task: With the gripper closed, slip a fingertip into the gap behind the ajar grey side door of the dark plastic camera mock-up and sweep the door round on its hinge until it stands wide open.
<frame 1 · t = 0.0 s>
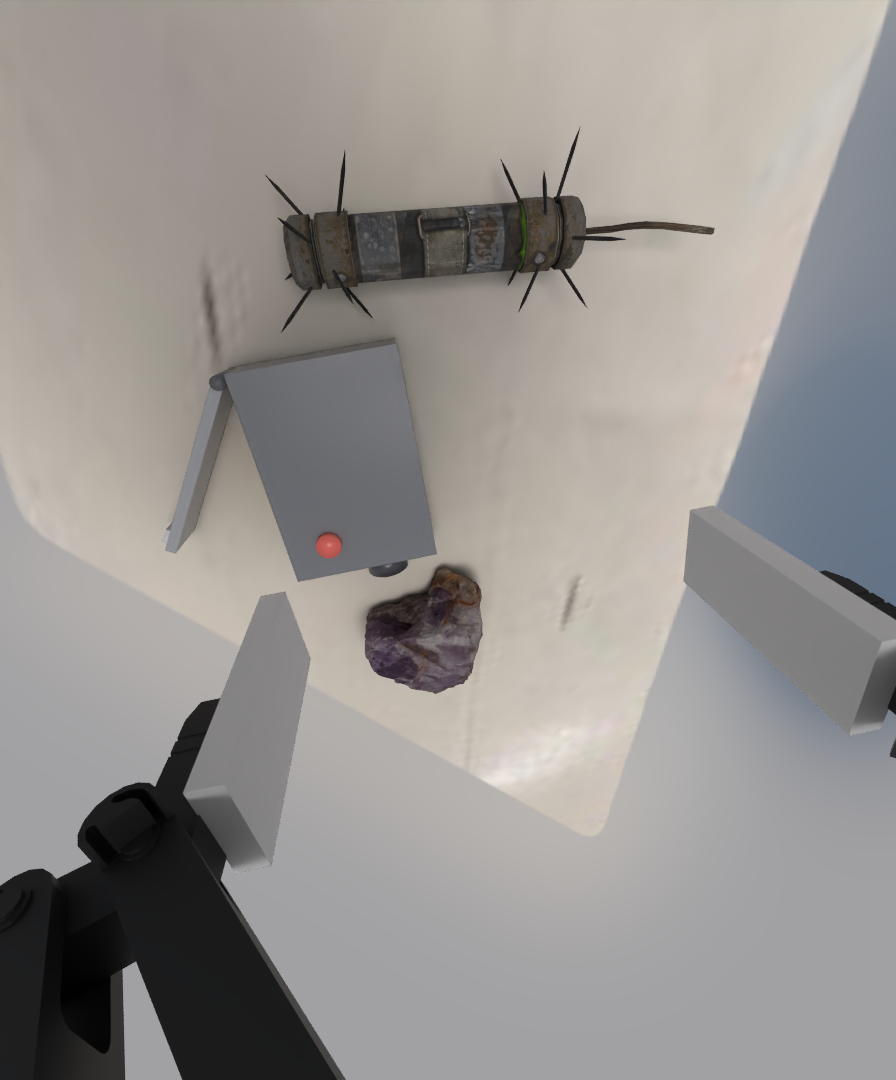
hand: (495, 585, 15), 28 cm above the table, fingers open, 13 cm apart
side door: (199, 461, 37), point 3 cm above the table, hinge at 35.0°
rock: (427, 611, 50), on the table
camera body: (346, 455, 41), on the table
bomb: (484, 241, 36), on the table
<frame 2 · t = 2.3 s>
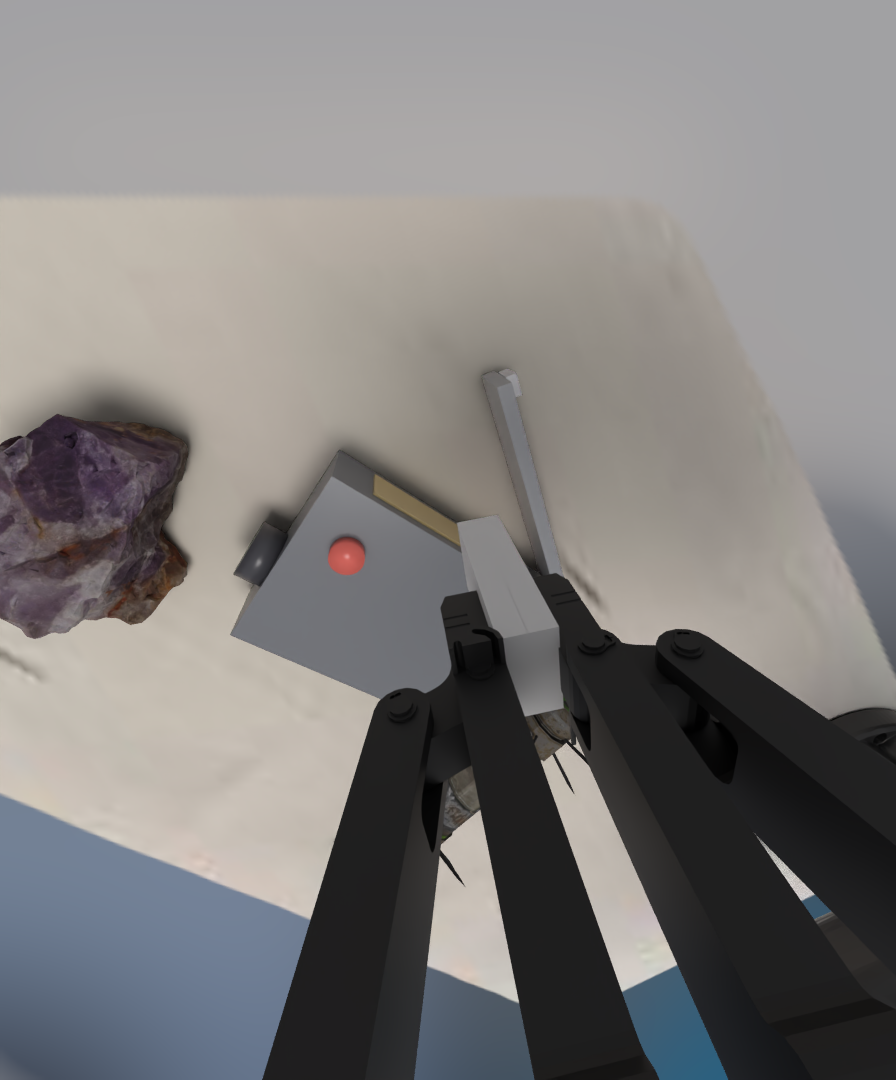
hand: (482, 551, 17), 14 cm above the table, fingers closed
side door: (531, 493, 30), point 3 cm above the table, hinge at 35.0°
rock: (120, 496, 29), on the table
camera body: (400, 582, 34), on the table
bomb: (440, 755, 43), on the table
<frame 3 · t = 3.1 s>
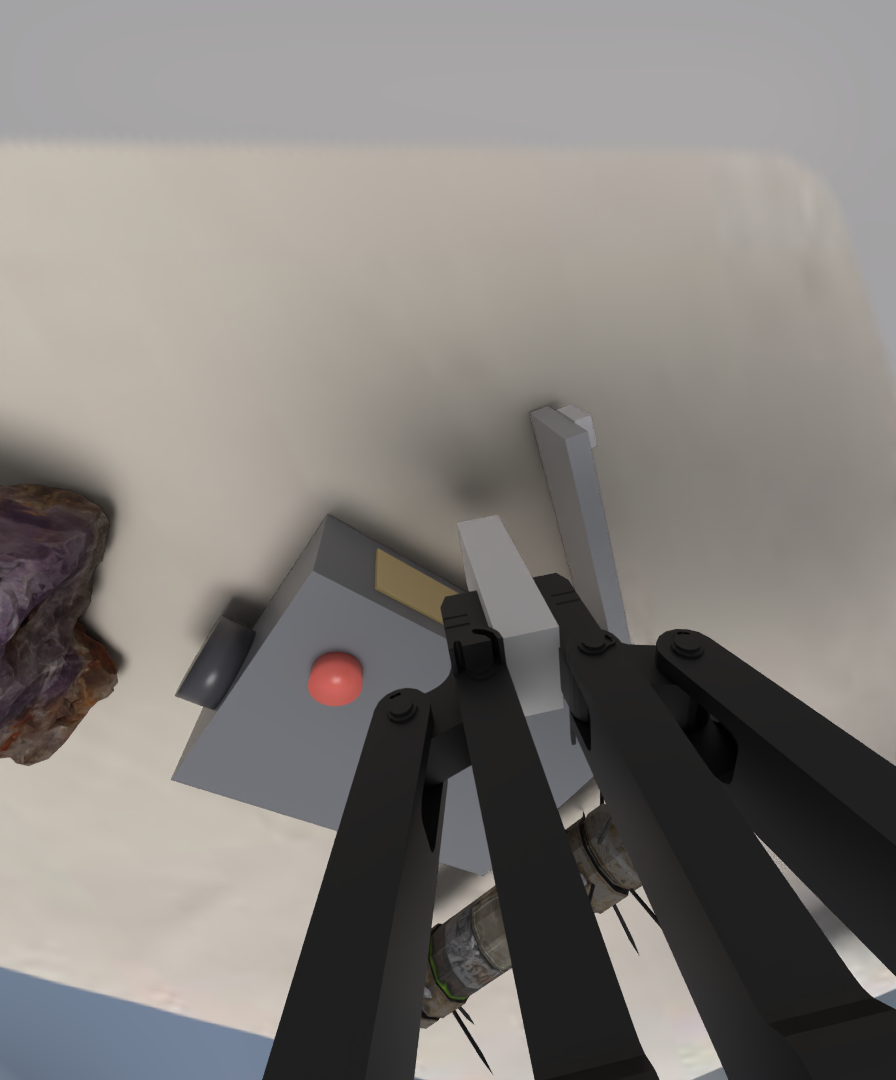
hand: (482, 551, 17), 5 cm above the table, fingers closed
side door: (597, 575, 21), point 3 cm above the table, hinge at 35.0°
rock: (20, 578, 21), on the table
camera body: (411, 678, 26), on the table
bomb: (457, 869, 35), on the table
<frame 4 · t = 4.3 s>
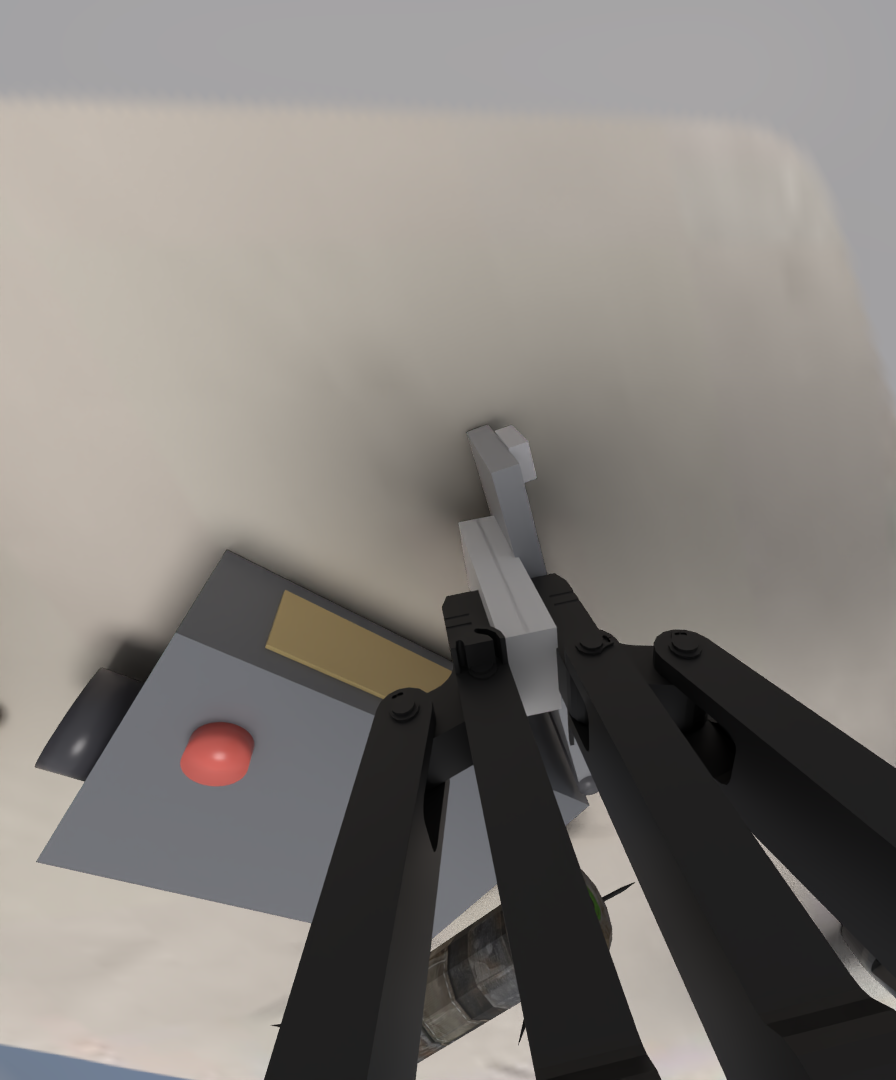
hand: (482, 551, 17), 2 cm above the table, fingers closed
side door: (545, 622, 18), point 2 cm above the table, hinge at 36.0°, touching gripper
camera body: (341, 727, 23), on the table
bomb: (406, 917, 32), on the table
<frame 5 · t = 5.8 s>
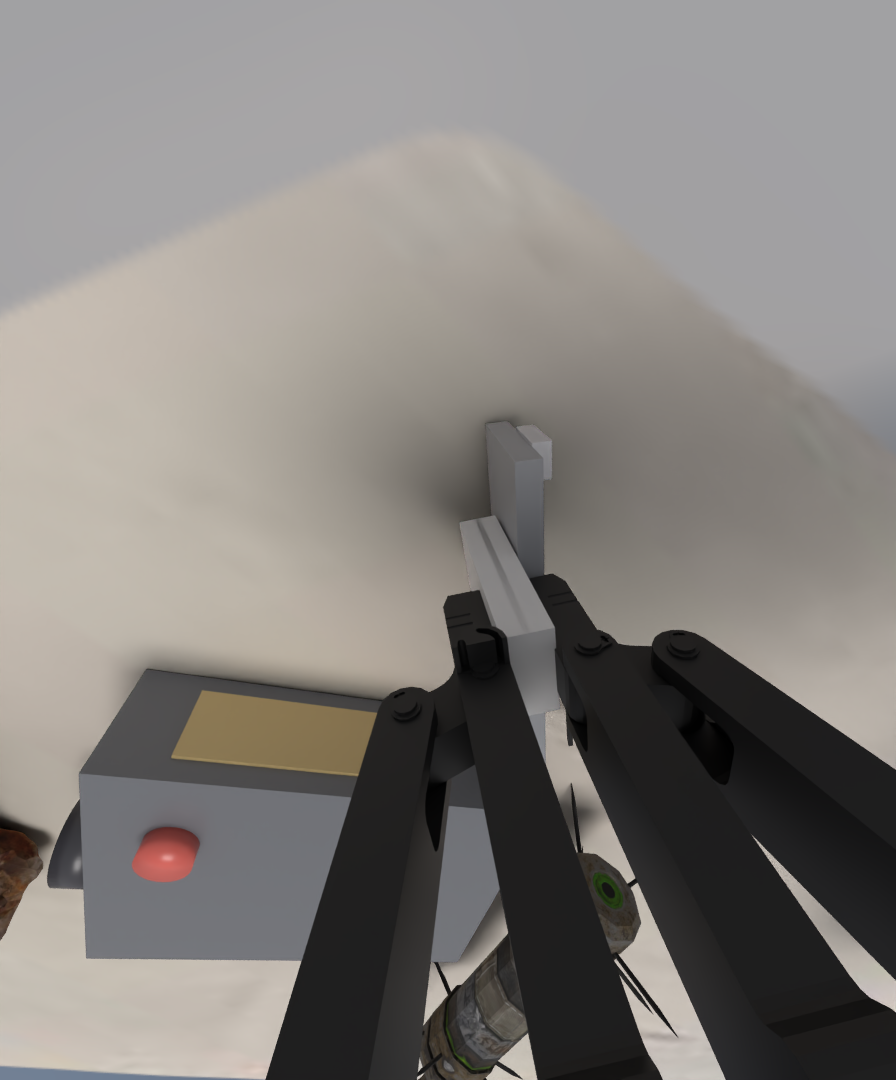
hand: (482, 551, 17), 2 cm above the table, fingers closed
side door: (524, 626, 18), point 2 cm above the table, hinge at 67.5°, touching gripper
camera body: (323, 781, 25), on the table
bomb: (473, 920, 33), on the table
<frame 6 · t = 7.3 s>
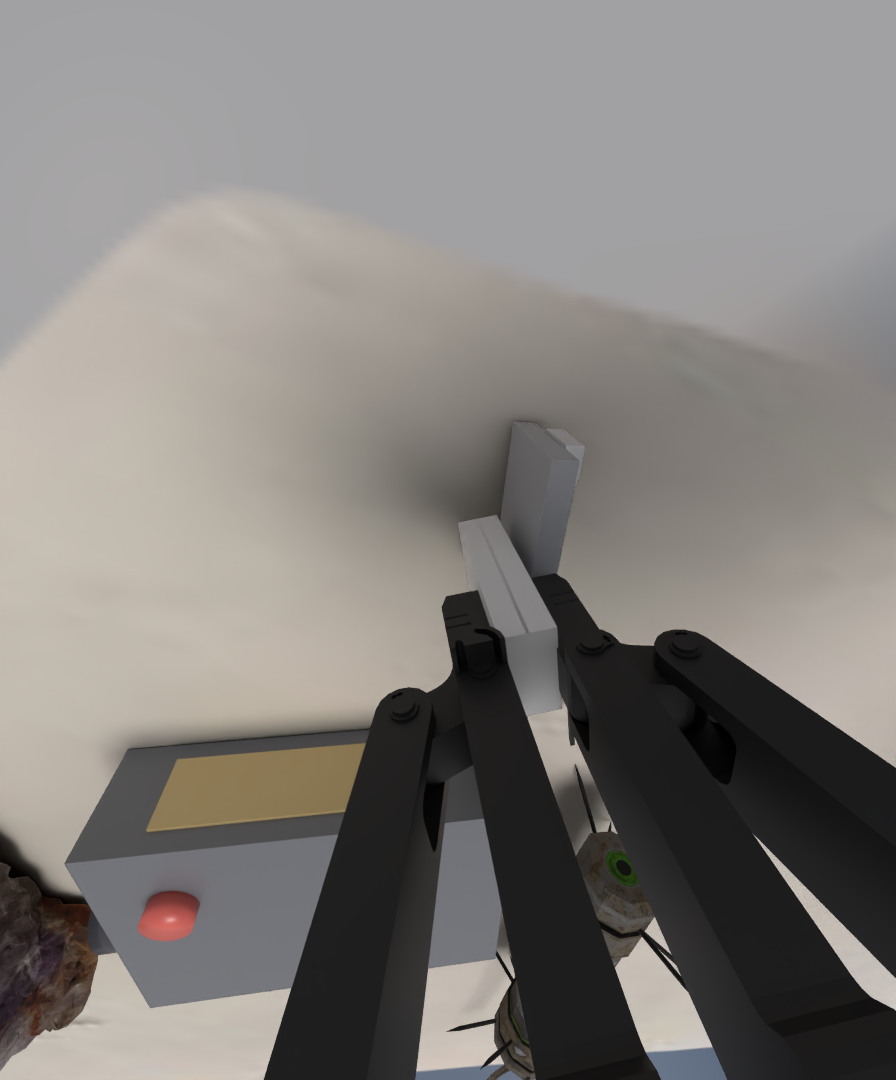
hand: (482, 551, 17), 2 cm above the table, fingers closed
side door: (518, 627, 18), point 2 cm above the table, hinge at 93.0°, touching gripper
camera body: (328, 812, 26), on the table
bomb: (527, 906, 33), on the table
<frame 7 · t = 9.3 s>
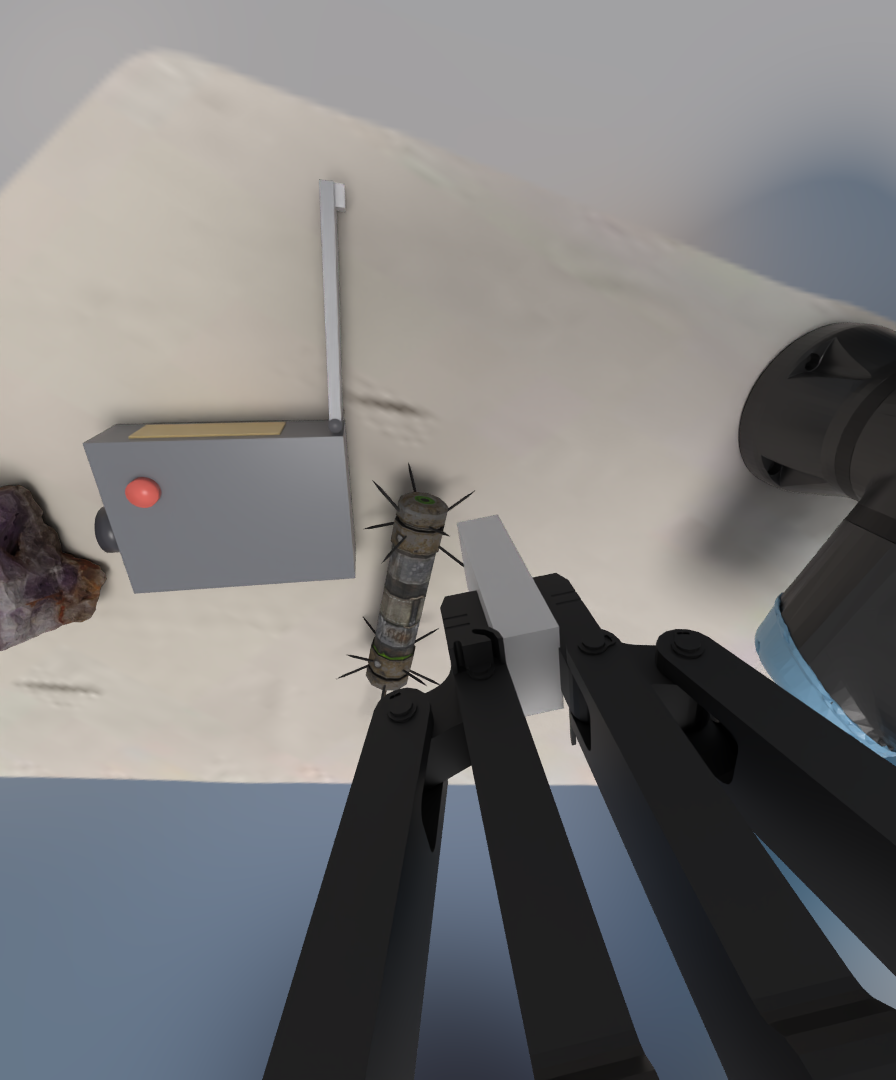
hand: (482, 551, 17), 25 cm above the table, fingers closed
side door: (336, 317, 33), point 2 cm above the table, hinge at 93.1°
rock: (30, 546, 40), on the table
camera body: (247, 493, 40), on the table
bomb: (395, 604, 48), on the table
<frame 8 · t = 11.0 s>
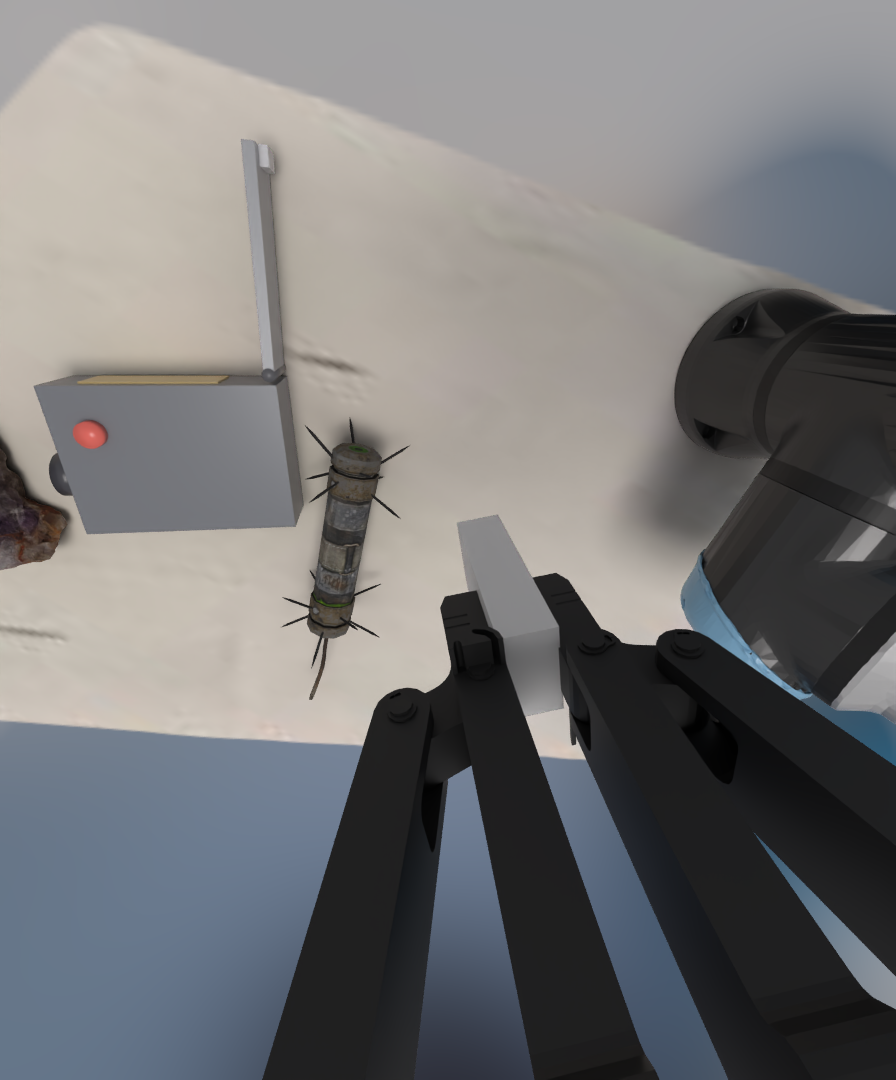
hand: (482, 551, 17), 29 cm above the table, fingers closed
side door: (269, 273, 36), point 2 cm above the table, hinge at 93.1°
camera body: (198, 445, 43), on the table
bomb: (341, 559, 50), on the table
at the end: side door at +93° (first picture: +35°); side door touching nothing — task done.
